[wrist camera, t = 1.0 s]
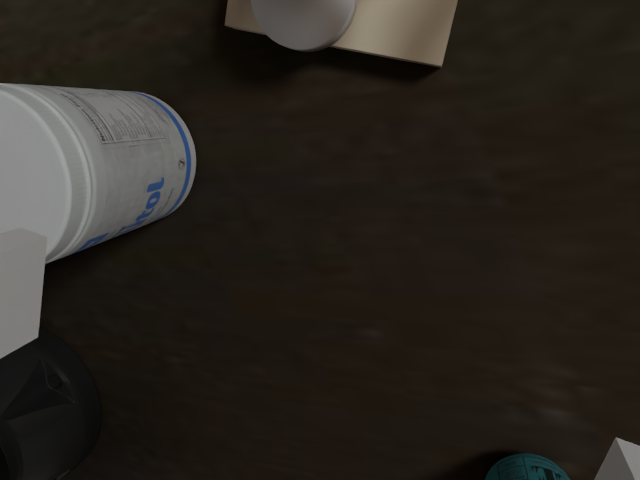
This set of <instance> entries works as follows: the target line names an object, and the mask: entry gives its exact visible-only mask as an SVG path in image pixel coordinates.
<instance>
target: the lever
mask: <svg viewBox="0 0 640 480" xmlns="http://www.w3.org/2000/svg"><path fill="white" fill-rule="evenodd" d="M251 5H252V9H253V13H254V16H255V18H256V21H257V22H258V24H259V26H260V27H261V29H262V30H263V32H264V33H265V34H266V35H267V36H268V37H269V38H271V39H272V40H273V41H275V42H276V43H278V44H280V45H282V46H285V47H287V48H290V49H293V50H297V51H302V52H314V51H319V50H322V49H325V48H327V47H329V46H331V45H333V44H334V43H336V42H337V41H338V40H339V39H340V38H341V37H342V36H343V35H344V34H345V32H346V31H347V30H348V28H349V26H350V25H351V23H352V20H353V18H354V15H355V11H356V7H357V0H251Z"/></svg>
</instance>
